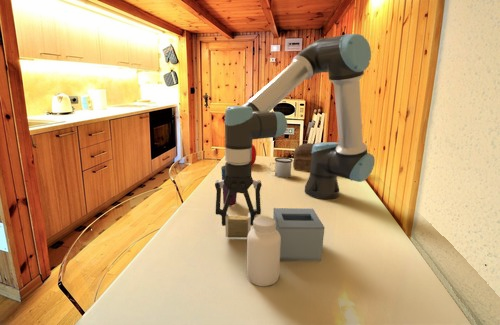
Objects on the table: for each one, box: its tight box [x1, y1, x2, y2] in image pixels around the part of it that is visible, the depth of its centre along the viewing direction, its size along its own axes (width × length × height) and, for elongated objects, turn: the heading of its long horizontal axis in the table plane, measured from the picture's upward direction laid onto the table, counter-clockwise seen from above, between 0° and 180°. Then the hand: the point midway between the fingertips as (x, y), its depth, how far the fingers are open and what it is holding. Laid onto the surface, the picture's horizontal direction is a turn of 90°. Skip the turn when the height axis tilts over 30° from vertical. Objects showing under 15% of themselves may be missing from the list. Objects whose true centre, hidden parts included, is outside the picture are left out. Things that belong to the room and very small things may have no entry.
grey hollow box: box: [272, 207, 325, 262], centre depth 82 cm, size 12×12×10 cm
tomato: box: [250, 143, 257, 166], centre depth 170 cm, size 16×14×14 cm
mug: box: [269, 156, 294, 179], centre depth 152 cm, size 12×10×9 cm
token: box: [227, 215, 248, 239], centre depth 86 cm, size 6×2×6 cm, turn 92°
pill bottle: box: [246, 216, 281, 287], centre depth 68 cm, size 8×8×15 cm
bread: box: [292, 142, 316, 172], centre depth 164 cm, size 15×32×16 cm, turn 70°
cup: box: [221, 165, 238, 207], centre depth 112 cm, size 7×7×15 cm
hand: (238, 234), depth 87 cm, fingers closed on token, 6 cm apart
